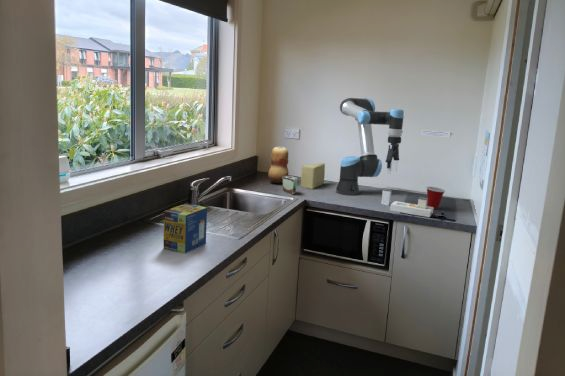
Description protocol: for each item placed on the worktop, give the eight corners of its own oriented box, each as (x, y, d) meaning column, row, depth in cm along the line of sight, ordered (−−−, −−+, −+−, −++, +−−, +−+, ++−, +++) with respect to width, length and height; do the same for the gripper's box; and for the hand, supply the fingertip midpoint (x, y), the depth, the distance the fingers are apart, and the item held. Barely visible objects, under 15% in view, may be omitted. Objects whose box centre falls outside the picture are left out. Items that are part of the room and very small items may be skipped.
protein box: (162, 248, 185) (163, 210, 182) (185, 238, 199) (186, 202, 196) (184, 254, 181) (185, 215, 178) (206, 242, 195) (207, 206, 191)
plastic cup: (444, 211, 271) (446, 191, 268) (424, 209, 273) (427, 189, 270) (441, 206, 281) (444, 187, 279) (423, 205, 283) (425, 185, 281)
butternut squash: (271, 185, 312) (273, 148, 307) (265, 181, 324) (267, 145, 319) (291, 185, 317) (293, 148, 312) (283, 181, 329) (286, 145, 324)
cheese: (316, 182, 331) (318, 161, 328) (329, 185, 326) (330, 163, 322) (299, 187, 313) (301, 165, 310) (312, 189, 308) (314, 167, 304)
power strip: (389, 210, 266) (390, 203, 265) (394, 206, 275) (395, 199, 274) (444, 219, 253) (445, 212, 252) (447, 215, 261) (448, 208, 260)
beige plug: (416, 213, 262) (418, 198, 260) (417, 212, 265) (419, 196, 264) (424, 214, 260) (426, 199, 258) (425, 213, 264) (427, 198, 262)
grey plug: (381, 204, 279) (382, 189, 277) (382, 203, 282) (384, 188, 280) (388, 205, 277) (390, 190, 275) (390, 204, 280) (391, 189, 278)
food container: (301, 194, 291) (302, 178, 289) (293, 195, 288) (294, 179, 286) (289, 190, 301) (290, 175, 299) (281, 191, 297) (282, 175, 295)
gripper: (395, 137, 259) (392, 175, 263) (406, 135, 281) (402, 170, 285) (382, 136, 262) (379, 174, 266) (393, 134, 284) (390, 169, 288)
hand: (391, 172), depth 275 cm, fingers open, 13 cm apart
